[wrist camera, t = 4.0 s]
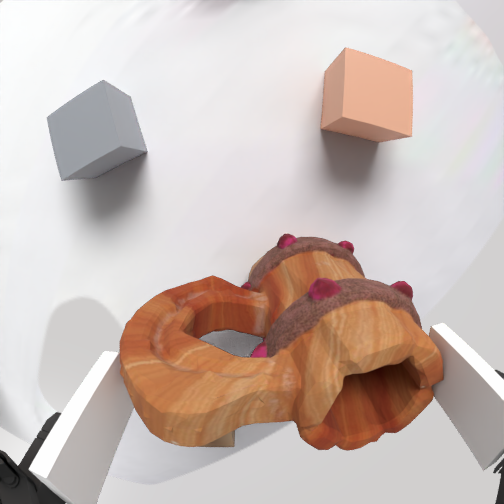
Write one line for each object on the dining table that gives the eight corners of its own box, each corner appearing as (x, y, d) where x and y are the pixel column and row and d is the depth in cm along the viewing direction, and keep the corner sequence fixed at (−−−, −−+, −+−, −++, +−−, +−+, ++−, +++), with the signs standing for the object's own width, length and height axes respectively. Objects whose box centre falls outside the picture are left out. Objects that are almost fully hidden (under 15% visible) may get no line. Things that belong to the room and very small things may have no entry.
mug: (362, 234, 21) (506, 319, 7) (341, 324, 23) (424, 456, 9) (175, 214, 20) (57, 298, 6) (172, 312, 22) (113, 467, 8)
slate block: (96, 177, 19) (61, 180, 15) (81, 125, 18) (46, 117, 13) (147, 151, 19) (121, 146, 14) (131, 97, 18) (103, 79, 13)
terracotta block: (320, 129, 19) (342, 116, 14) (324, 71, 18) (345, 47, 13) (378, 142, 19) (411, 136, 14) (381, 87, 18) (412, 70, 13)
